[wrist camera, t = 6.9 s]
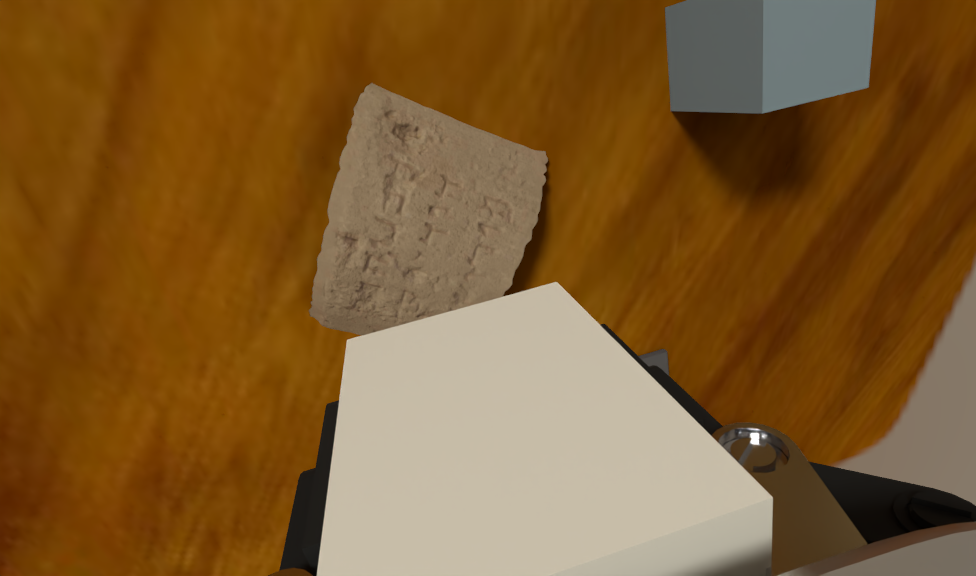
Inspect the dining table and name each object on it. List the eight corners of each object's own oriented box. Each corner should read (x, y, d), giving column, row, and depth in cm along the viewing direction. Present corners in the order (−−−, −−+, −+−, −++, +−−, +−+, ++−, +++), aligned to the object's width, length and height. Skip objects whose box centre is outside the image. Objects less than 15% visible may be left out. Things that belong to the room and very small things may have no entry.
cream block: (556, 281, 12) (772, 497, 5) (583, 447, 14) (767, 752, 7) (347, 339, 11) (305, 660, 5) (405, 504, 13) (432, 891, 7)
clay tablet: (472, 367, 30) (480, 390, 28) (301, 333, 28) (293, 356, 25) (552, 132, 27) (570, 135, 24) (363, 64, 24) (361, 59, 21)
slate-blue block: (754, -12, 26) (880, -50, 19) (753, 91, 27) (868, 87, 21) (664, 7, 25) (763, -26, 19) (670, 111, 27) (762, 113, 20)
